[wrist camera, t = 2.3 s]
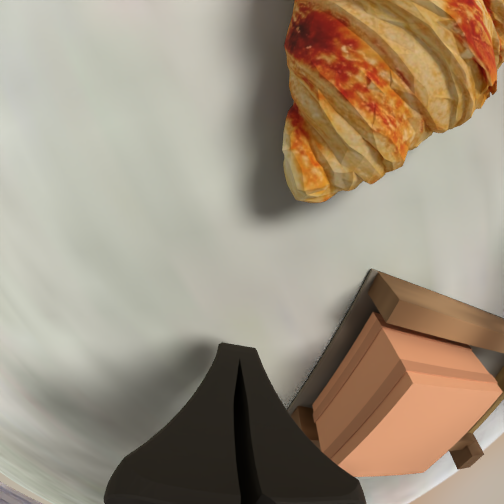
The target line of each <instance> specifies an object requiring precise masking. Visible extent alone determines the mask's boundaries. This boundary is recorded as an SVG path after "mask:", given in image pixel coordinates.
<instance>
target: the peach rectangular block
mask: <svg viewBox="0 0 504 504" xmlns="http://www.w3.org/2000/svg"><path fill="white" fill-rule="evenodd" d="M497 383H498V382H497V381H496V380H495V378H494V377H493V375H491V374H489V372H488V371H487V370H486V368H485V367H484V366H483V365H482V363H481V362H480V361H479V359H478V358H477V357H476V355H475V354H474V353H473V352H472V348H471V347H470V346H469V345H468V344H464V343H460V342H456V341H452V340H449V339H445V338H441V337H437V336H433V335H430V334H426V333H422V332H418V331H415V330H411V329H407V328H403V327H400V326H396V325H393V324H389V323H386V322H385V320H384V318H383V317H382V315H381V314H379V313H376V312H372V314H371V316H370V317H369V319H368V321H367V323H366V324H365V326H364V328H363V329H362V331H361V333H360V334H359V336H358V337H357V339H356V341H355V342H354V344H353V345H352V347H351V349H350V350H349V352H348V353H347V355H346V356H345V358H344V360H343V361H342V363H341V364H340V366H339V367H338V369H337V370H336V372H335V373H334V375H333V376H332V378H331V379H330V380H329V382H328V383H327V385H326V386H325V388H324V389H323V391H322V392H321V393H320V395H319V396H318V398H317V399H316V400H315V402H314V403H313V405H312V406H313V411H314V413H313V419H314V423H316V427H317V432H318V437H319V442H320V448H321V451H322V452H323V453H324V454H325V455H326V456H327V457H328V458H330V459H331V460H332V461H333V462H334V463H335V464H337V465H338V466H339V467H341V468H342V469H344V470H345V471H346V472H348V473H349V474H351V475H352V476H353V477H365V476H389V475H403V474H414V473H423V472H425V471H426V470H427V469H428V468H429V467H430V466H432V465H433V464H434V463H435V462H436V461H437V460H439V459H440V458H441V457H442V456H443V455H444V454H445V453H446V452H447V451H448V450H449V449H451V448H452V447H453V446H454V445H455V444H456V443H457V442H458V441H459V440H460V439H461V438H462V437H463V436H464V435H465V434H466V433H467V432H468V431H469V430H470V429H471V428H472V427H473V426H474V424H475V423H476V422H477V421H478V420H479V419H480V418H481V417H482V416H483V415H484V414H485V412H486V411H487V410H488V409H489V408H490V407H491V406H492V404H493V403H494V402H495V401H496V400H497V399H498V397H499V396H500V395H501V394H502V390H501V389H500V387H499V386H498V385H497Z"/></svg>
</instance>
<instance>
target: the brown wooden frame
mask: <svg viewBox="0 0 504 504" xmlns="http://www.w3.org/2000/svg"><path fill="white" fill-rule="evenodd" d="M372 312H376V313H379V314H381V315H382V317H383V318H384V320H385V322H386V323H389V324H393V325H396V326H400V327H403V328H407V329H411V330H415V331H418V332H422V333H426V334H430V335H433V336H437V337H441V338H445V339H449V340H452V341H456V342H460V343H464V344H468V345H469V346H470V347H471V348H472V352H473V353H474V354H475V355H476V357H477V358H478V359H479V361H480V362H481V363H482V365H483V366H484V367H485V368H486V370H487V371H488V372H489V374H491V375H493V377H494V378H495V380H496V381H497V382H498V383H497V385H498V386H499V387H500V389H501V390H502V394H501V395H500V396H499V397H498V399H497V400H496V401H495V402H494V403H493V404H492V406H491V407H490V408H489V409H488V410H487V411H486V412H485V414H484V415H483V416H482V417H481V418H480V419H479V420H478V421H477V422H476V423H475V424H474V426H473V427H472V428H471V429H470V430H469V431H468V432H467V433H466V434H465V435H464V436H463V437H462V438H461V439H460V440H459V441H458V442H457V443H456V444H455V445H454V446H453V447H452V448H451V449H449V450H448V451H449V452H450V454H451V456H452V458H453V460H454V462H455V465H456V467H457V469H463V468H467V467H470V466H471V465H473V464H474V463H475V462H476V461H477V460H478V459H479V458H480V457H481V456H482V455H484V453H483V451H482V449H481V447H480V445H479V444H478V442H477V440H476V438H475V436H474V434H473V432H474V431H475V430H476V429H477V428H478V427H479V426H480V425H481V424H482V423H483V422H484V421H485V420H486V419H487V418H488V416H489V415H490V414H491V413H492V412H493V411H494V410H495V408H496V407H497V406H498V405H499V404H500V403H501V401H502V400H503V399H504V318H501V317H499V316H496V315H494V314H491V313H488V312H486V311H483V310H481V309H478V308H476V307H473V306H470V305H468V304H465V303H463V302H460V301H457V300H455V299H452V298H450V297H447V296H444V295H442V294H439V293H436V292H434V291H431V290H428V289H426V288H423V287H420V286H418V285H415V284H412V283H410V282H407V281H404V280H401V279H399V278H396V277H393V276H390V275H388V274H385V273H382V272H380V271H377V270H374V269H371V270H370V272H369V274H368V276H367V278H366V280H365V282H364V283H363V285H362V287H361V289H360V291H359V293H358V295H357V297H356V298H355V300H354V302H353V304H352V306H351V308H350V309H349V311H348V313H347V315H346V317H345V318H344V320H343V322H342V324H341V325H340V327H339V329H338V330H337V332H336V334H335V336H334V337H333V339H332V341H331V342H330V344H329V346H328V347H327V349H326V351H325V352H324V354H323V356H322V357H321V359H320V361H319V362H318V364H317V365H316V367H315V369H314V370H313V372H312V373H311V375H310V376H309V378H308V380H307V381H306V383H305V384H304V386H303V387H302V389H301V390H300V392H299V393H298V395H297V396H296V398H295V399H294V401H293V402H292V404H291V405H290V407H289V408H288V410H287V411H288V413H289V414H290V416H291V417H292V419H293V420H294V421H295V423H296V424H297V425H298V426H299V428H300V429H301V430H302V431H303V432H304V434H305V435H306V436H307V437H308V438H309V439H310V440H311V441H312V442H313V443H314V444H315V445H316V446H317V447H318V448H319V449H320V450H321V448H320V442H319V437H318V432H317V427H316V423H314V419H313V413H314V411H313V406H312V405H313V403H314V402H315V400H316V399H317V398H318V396H319V395H320V393H321V392H322V391H323V389H324V388H325V386H326V385H327V383H328V382H329V380H330V379H331V378H332V376H333V375H334V373H335V372H336V370H337V369H338V367H339V366H340V364H341V363H342V361H343V360H344V358H345V356H346V355H347V353H348V352H349V350H350V349H351V347H352V345H353V344H354V342H355V341H356V339H357V337H358V336H359V334H360V333H361V331H362V329H363V328H364V326H365V324H366V323H367V321H368V319H369V317H370V316H371V314H372Z"/></svg>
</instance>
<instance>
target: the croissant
mask: <svg viewBox="0 0 504 504" xmlns="http://www.w3.org/2000/svg"><path fill="white" fill-rule="evenodd" d="M294 1H295V2H294V8H293V14H292V18H291V21H290V25H289V28H288V31H287V35H286V40H285V44H284V47H285V51H286V55H287V66H288V68H289V71H290V77H289V88H290V92H291V96H292V98H293V100H294V103H293V106H292V107H291V108H290V110H289V111H288V114H287V117H286V123H285V127H284V132H283V147H282V151H283V153H284V162H283V166H284V173H285V178H286V181H287V185H288V187H289V188H290V190H291V192H292V194H293V196H294V197H295V199H296V200H299V201H303V202H308V203H320V202H324V201H326V200H328V199H329V198H331V197H332V196H334V195H335V194H336V193H337V192H339V191H342V190H344V191H350V190H353V189H355V188H356V187H357V186H358V185H359V184H360V183H361V182H362V181H365V182H367V183H369V184H373V183H375V182H376V181H377V180H379V179H380V178H382V177H383V176H384V174H385V173H386V172H390V171H393V170H395V169H397V168H399V167H402V166H403V163H404V161H405V157H406V155H407V152H408V151H409V150H413V149H414V148H416V147H418V145H419V144H420V143H421V142H422V141H424V140H425V139H427V138H428V137H429V136H431V135H432V133H433V132H436V133H444V132H445V131H447V130H449V129H453V128H454V127H457V126H460V125H462V124H463V123H465V122H466V121H467V120H469V119H470V118H471V116H472V114H473V112H474V110H475V109H479V108H481V107H482V105H483V104H484V102H485V100H486V99H487V98H489V97H490V92H491V93H492V95H493V94H494V93H495V92H496V91H497V69H499V67H500V66H501V64H502V63H503V62H504V0H294Z"/></svg>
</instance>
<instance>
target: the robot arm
mask: <svg viewBox="0 0 504 504" xmlns="http://www.w3.org/2000/svg"><path fill="white" fill-rule="evenodd" d="M104 503H105V504H366V500H365V496H364V493H363V490H362V487H361V485H360V482H359V480H358V479H356V478H355V477H353V476H352V475H351V474H349V473H348V472H346V471H345V470H344V469H342V468H341V467H339V466H338V465H337V464H335V463H334V462H333V461H332V460H331V459H330V458H328V457H327V456H326V455H325V454H324V453H323V452H322V451H321V450H320V449H319V448H318V447H317V446H316V445H315V444H314V443H313V442H312V441H311V440H310V439H309V438H308V437H307V436H306V435H305V434H304V432H303V431H302V430H301V429H300V428H299V426H298V425H297V424H296V423H295V421H294V420H293V419H292V417H291V416H290V414H289V413H288V411H287V410H286V408H285V407H284V405H283V404H282V402H281V400H280V399H279V397H278V395H277V394H276V392H275V390H274V388H273V386H272V384H271V382H270V380H269V378H268V376H267V374H266V372H265V370H264V368H263V365H262V363H261V360H260V358H259V355H258V352H257V350H256V349H255V348H252V347H245V346H240V345H234V344H228V343H223V342H222V343H220V344H219V346H218V350H217V354H216V357H215V359H214V361H213V364H212V366H211V367H210V369H209V371H208V373H207V375H206V376H205V378H204V380H203V381H202V383H201V384H200V386H199V387H198V389H197V390H196V392H195V393H194V394H193V396H192V397H191V398H190V400H189V401H188V402H187V403H186V405H185V406H184V407H183V408H182V409H181V410H180V412H179V413H178V414H177V415H176V416H175V417H174V418H173V419H172V420H171V421H170V422H169V423H168V424H167V425H166V426H165V427H164V428H163V429H161V430H160V431H159V432H158V433H157V434H156V435H154V436H153V437H152V438H151V439H150V440H148V441H147V442H146V443H144V444H143V445H142V446H140V447H139V448H137V449H136V450H134V451H133V452H131V453H130V454H129V455H127V456H126V457H124V459H123V460H122V461H121V463H120V464H119V465H118V467H117V468H116V470H115V471H114V473H113V474H112V476H111V478H110V480H109V482H108V485H107V488H106V492H105V495H104ZM0 504H42V503H40V502H38V501H36V500H34V499H32V498H30V497H28V496H26V495H24V494H22V493H20V492H18V491H16V490H14V489H13V488H11V487H9V486H7V485H5V484H4V483H2V482H0Z"/></svg>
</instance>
